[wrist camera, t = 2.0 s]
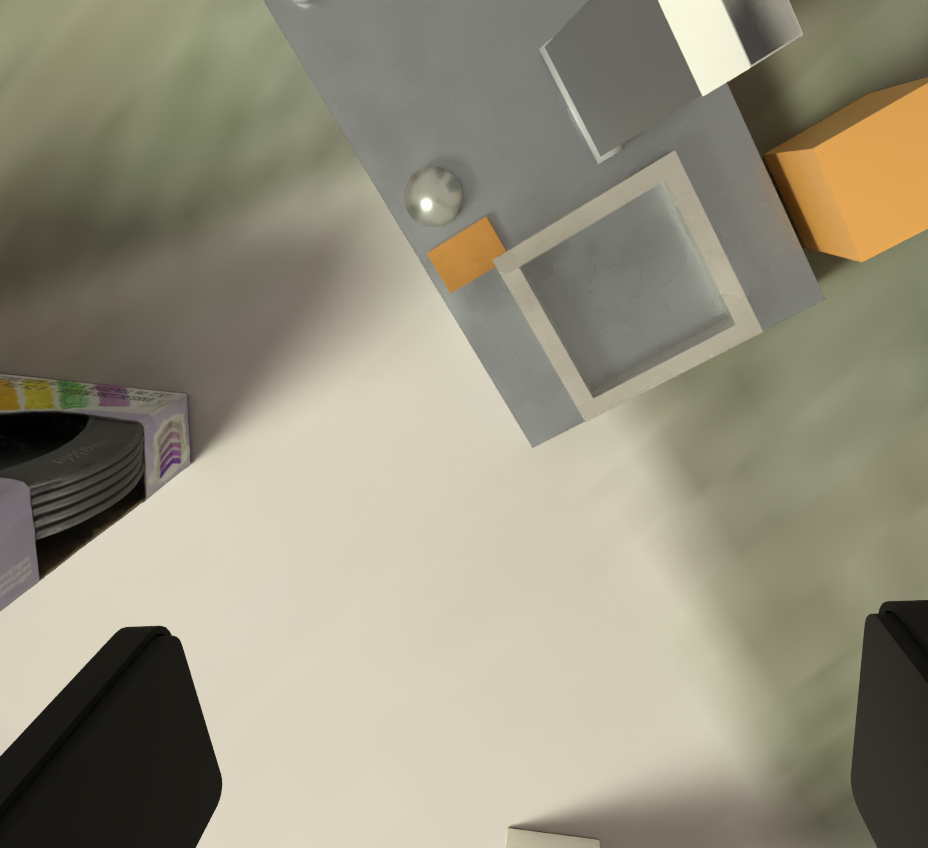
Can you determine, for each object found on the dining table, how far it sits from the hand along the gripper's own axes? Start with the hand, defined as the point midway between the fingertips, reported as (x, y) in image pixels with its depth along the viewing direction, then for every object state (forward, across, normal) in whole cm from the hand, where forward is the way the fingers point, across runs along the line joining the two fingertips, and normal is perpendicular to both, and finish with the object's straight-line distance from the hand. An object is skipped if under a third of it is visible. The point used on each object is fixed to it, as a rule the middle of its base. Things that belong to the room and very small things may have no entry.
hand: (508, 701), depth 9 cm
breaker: (+22, -3, -9) cm, 24 cm away
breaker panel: (+25, 0, -10) cm, 27 cm away
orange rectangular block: (+25, -13, -5) cm, 29 cm away
